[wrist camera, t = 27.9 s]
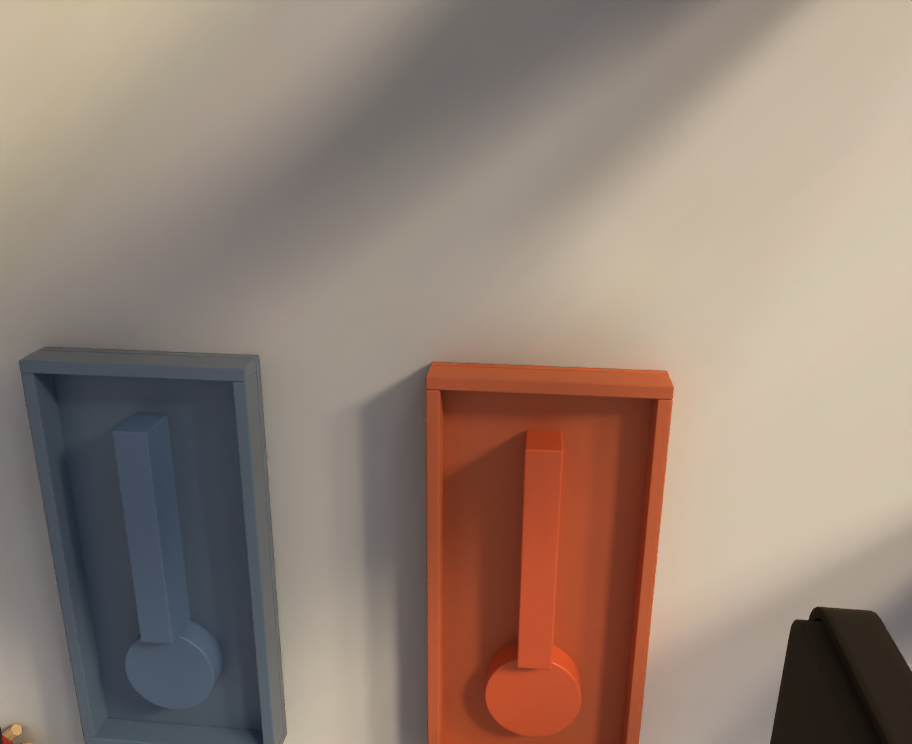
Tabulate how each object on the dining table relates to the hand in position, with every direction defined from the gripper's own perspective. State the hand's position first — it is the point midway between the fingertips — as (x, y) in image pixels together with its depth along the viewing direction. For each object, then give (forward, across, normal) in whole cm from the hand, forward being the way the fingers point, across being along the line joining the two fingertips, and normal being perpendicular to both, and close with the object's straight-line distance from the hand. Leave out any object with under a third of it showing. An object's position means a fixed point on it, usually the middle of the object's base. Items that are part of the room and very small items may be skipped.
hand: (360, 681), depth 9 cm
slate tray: (+26, +16, +16) cm, 35 cm away
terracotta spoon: (+26, -2, +16) cm, 31 cm away
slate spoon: (+26, +16, +16) cm, 35 cm away
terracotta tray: (+27, -2, +16) cm, 31 cm away
